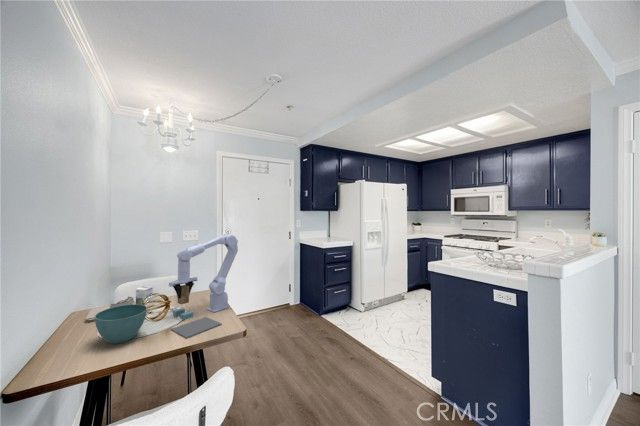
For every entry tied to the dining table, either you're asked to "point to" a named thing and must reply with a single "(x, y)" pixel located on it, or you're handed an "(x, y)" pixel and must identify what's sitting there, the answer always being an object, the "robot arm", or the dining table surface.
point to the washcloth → (92, 314)
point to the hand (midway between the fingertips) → (183, 296)
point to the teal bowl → (120, 322)
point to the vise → (182, 313)
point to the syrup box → (143, 293)
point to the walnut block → (184, 295)
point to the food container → (123, 302)
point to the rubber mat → (195, 327)
